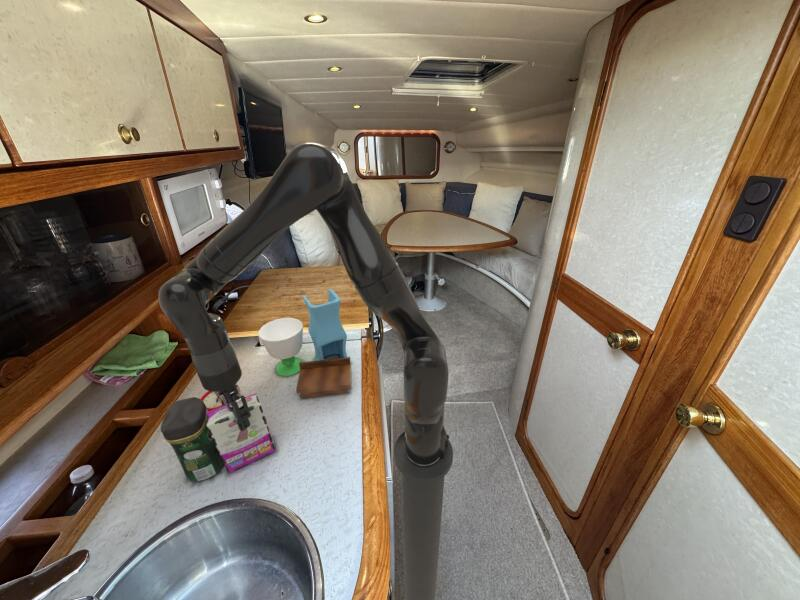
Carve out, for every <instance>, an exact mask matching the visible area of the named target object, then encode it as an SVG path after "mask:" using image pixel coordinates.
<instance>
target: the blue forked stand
mask: <svg viewBox="0 0 800 600" xmlns="http://www.w3.org/2000/svg"><path fill="white" fill-rule="evenodd" d="M301 297H302V299H303V301H304V303H305V306H306V308H307V310H308V314H309V315H308V316H309V322H308V329H307V330H308V331H307V332H308V333H309V337H310V338H311V340H312V343H313V346H314V361H317V360H325V357H328V356H330V355H339V356H340V358H347V357H348V355H347V351H346V350H347V349H346V347H347V346H346V345H347V340H348V339H347V338H348V336H347V332H346V330H345V329H344V326H343V323H342V322H341V318H340V307H341V306H340V305H341V298H340V296H339V295H338V294H337V293H336V292H335V291H334V290H333V289H332V288H330V289H328V302H324V303H321V304H312V303H311V302H310V300H309V298H308V297H307V295H302V296H301Z"/></svg>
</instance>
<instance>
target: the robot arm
mask: <svg viewBox="0 0 800 600" xmlns="http://www.w3.org/2000/svg"><path fill="white" fill-rule="evenodd" d="M314 211H317V212H318V214H319V216H320V217H321V218H322V220H323V222H324V223H325V224H326V226H327V228H328V229H329V231H330V233H331V235H332V237H333V239H334V241H335V244H336V248H337V250H338V253H339V256H340V258H341V261H342V264H343V266H344V269H345V271H346V274H347V276H348V278H349V280H350V282H351V284H352V285H353V287H354V289H355V290H356V292H357V293H358V295H359V297H360V299H361V300H362V301H363V303H364V304H365V306H366V307H367V308H368V310H370V311H371V312H372V313H373V314H374V315H376V316H377V317H378V318H380V319H381V320H383V321H384V322H385V323H386V324H388V325H389V327H390V328H391V329H392V331H393V332H394V334H395V336H396V337H397V339H398V341H399V343H400V345H401V348H402V351H403V400H404V432H405V436H404V439H405V453H406V456H407V458H408V460H409V461H410V462H411V463H412V464H414V465H416V466H418V467H430V466H433V465H435V464H436V463H437V462H438V461H439V460H440V459H443V458H444V447H448V440H450V435H449V434H447V431H446V429H445V425H444V419H445V403H446V401H447V398H448V397H447V396H448V388H449V365H448V357H447V353H446V348H445V347H444V343H443V342H442V341H441V339H440V338H439V336H438V335H437V333H436V332H435V330H434V329H433V328H432V326H431V325H430V324H429V322H428V321H427V319H426V318H425V316H424V315H423V313H422V311H421V309H420V306H419V304H418V302H417V300H416V298H415V295H414V293H413V291H412V289H411V287H410V285H409V283H408V281H407V279H406V276H405V275H404V273H403V271H402V269H401V267H400V266H399V264H398V262H397V260H396V258H395V257H394V255H393V253H392V252H391V250H390V248H389V247H388V245H387V243H386V242H385V240H384V239H383V237H382V236H381V234H380V232H379V231H378V230H377V227H376V226H375V225H374V224H373V222H372V220H371V219H370V217H369V216H368V215H367V213H366V211H365V209H364V207H363V205H362V202H361V200H360V198H359V196H358V193H357V191H356V189H355V186H354V183H353V182H352V180H351V176H350V174H349V172H348V170H347V167H346V164H345V162H344V160H343V158H342V157H341V155H340V153H338V152H337V151H336V150H335V149H334V148H332V147H331V146H329V145H327V144H324V143H320V142H314V141H313V142H312V141H311V142H310V141H309V142H302V143H300V144H297V145H295V146H293V148H291V150H289V152H288V153H287V155H286V156H285V157H284V159H283V160H282V162H281V163H280V165H279V166H278V168H277V169H276V170H275V172H274V173H273V175H272V176H271V178H270V179H269V180H268V182H267V184H266V185H265V186H264V187H263V188H262V190H261V191H260V193H258V194H257V196H256V197H255V198H254V199H253V200H252V201H251V203H249V204H248V206H246V208H244V209H243V210H242V212H241V213H239V214H238V215H237V216H236V217H235V218H234V219H233V220H231V221H230V222H229V223H228V224H227V225H226V226H225V227H223V229H221V230H220V231H219V232H218V233H217V234H216V235H215V236H214V237H213V238H211V239H210V240H209V242H207V244H205V246H204V247H202V248H201V250H200V251H199V252H198V253H197V256H196V257H195V258H194V259H193V260H192V261H191V262H189V263H188V264H187V265H186V266H185V267H184V268H183V269H181V270H180V271H179V272H177V273H176V274H174V276H172V277H171V278H169V279H168V280H167V281H165V282H164V283H163V284H162V285H161V286H160V288H159V290H158V294H157V295H158V296H157V297H158V299H157V300H158V304H159V307H160V309H161V311H162V313H163V314H164V316H166V317H167V319H168V320H169V321H170V322H171V323H172V325H173V326H174V327H175V328H176V329H177V330H178V331H179V332H180V333H181V334H182V336H183V339H184V341H185V343H186V346H187V348H188V351H189V353H190V356H191V362H192V364H193V367H194V369H195V372H196V375H197V377H198V378H199V381H200V384H201V386H202V387H203V389H204V390H205V391H207V392H208V391H212V392H214V393H215V394H216V396H217V398H218V399H219V400H220V401H221V403H222V405H223V406H224V405H225V406H226V408H227V410H228V411H229V412H232V414H233V416H234V419H235V420H236V422H237V425H238V427H239V429H240V431H243V430H245V429H247V428H248V427H249V426H250V422H249V419H248V418H249V417H251V413H250V411H249V408H248V405H247V402H246V399H245V397H246V396H245V395H242V393H241V388H240V386H239V385H238V382H239V381H240V379H241V378H242V374H243V371H242V369H241V366H240V363H239V359H238V356H237V354H236V351H235V347H234V345H233V343H232V341H231V339H230V337H229V334H228V331H227V328H226V324H225V323H224V320H223V319H222V317H221V316H220V315H218V314H216V313H212V312H208V310H207V304H209V302H210V301H211V300H212V299H213V298H214V297H215V296H216V295H217V294H218V293H219V292H220V291H221V290H222V289H223V288H224V287H225V286H226V285H227V284H228V283H229V282H232V281H233V280H235V279H236V278H237V277H239V276H240V275H242V273H243V272H245V271H246V270H247V269H248V268H249V267H250V266H251V265H252V264H253V263H254V262H256V260H258V258H260V257H261V255H263V254H264V253H265V252H266V251H267V249H268V248H270V246H271V245H272V244H273V243H274V242H275V241H276V239H278V237H280V235H282V234H283V233H284V232H285V231H286V230H288V229H289V228H290V227H291V226H293V225H294V224H295V223H297V222H298V221H299V220H301V219H302V218H304V217H306V216H307V215H310V213H312V212H314ZM229 404H231V405H232V407H230V406H229ZM404 439H403V440H404Z"/></svg>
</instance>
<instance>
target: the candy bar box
mask: <svg viewBox="0 0 800 600" xmlns="http://www.w3.org/2000/svg"><path fill="white" fill-rule="evenodd" d="M245 399H246V402H247V405H248V408H249V411H250V413H251V417H249V418H248V419H249V422H250V426H249V427H248V428H247V429H245V430H243V431H240V429H239V427H238V425H237V422H236V420H235V419H234V416H233V414H232V412H229V411H228V410H227V408H226V406H225V405H224V406H221V407H218V408H216V409H213V410H211V411H208V412H206V421H207V428H208V430H209V433H210V435H211V437H212V439H213V441H214V443H215V445H216V447H217V450H218V452H219V454H220V456H221V458H222V460H223V464H224V467H225V469H226V472H227V473H228V474H231V473H234V472H236V471H238V470H240V469H242V468H244V467H246V466H249V465H250V464H252V463H254V462H256V461H258V460H261V459H262V458H264V457H267V456H269V455H271V454H273V453H275V452H277V449H276V445H275V442H274V438H273V436H272V432H271V429H270V427H269V426H270V425H269V424H268V420H267V418H266V415H265V412H264V408H263V406H262V403H261V400H260V397H259V394H258V392H255V393H252V394H250V395H246V396H245ZM229 406H230V407H232V405H231V404H229Z"/></svg>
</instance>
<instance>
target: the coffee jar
mask: <svg viewBox="0 0 800 600" xmlns="http://www.w3.org/2000/svg"><path fill="white" fill-rule="evenodd" d="M206 412H208V410H207V407H206V405H205V404H204V402H203V401H202V400H201V398H199V397H196V396H192V397H188V398H187V397H186V398H183V399H179V400H176V401H175V402H174V403H173V404H172V405H171V406H169V408H168V409H167V411H166V412H165V414H164V416H163V419H162V422H161V424H160V432H161V434H162V435H163V439H164V440H165V441H166V442H167V443H169V445H170V446H171V448H172V449H173V452H174V454H175V456H176V458H177V459H178V461H179V464H180V466H181V468H182V471H183V473H184V475H185V477H186V479H187V480H188V481H189V482H192V483H196V482H197V483H198V482H203V481H207V480H209V479H210V478H213V477H214V476H216V475H217V474H218V473H219V472H220V471H221V470H222V468H223V464H224V462H223V460H222V458H221V456H220V454H219V452H218V450H217V447H216V445H215V443H214V441H213V439H212V437H211V435H210V433H209V430H208V428H207V421H206Z"/></svg>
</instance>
